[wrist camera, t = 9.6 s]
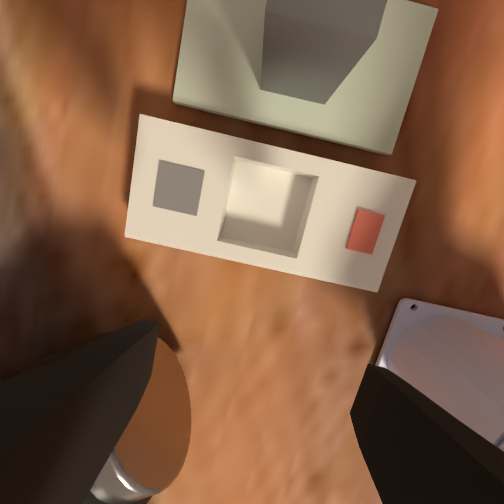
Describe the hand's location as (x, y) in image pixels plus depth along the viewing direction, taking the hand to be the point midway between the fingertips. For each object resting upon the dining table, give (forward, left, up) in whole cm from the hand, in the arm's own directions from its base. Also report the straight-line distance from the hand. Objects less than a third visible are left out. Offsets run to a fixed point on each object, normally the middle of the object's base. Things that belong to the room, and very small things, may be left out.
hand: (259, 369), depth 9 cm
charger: (0, -14, -10) cm, 17 cm away
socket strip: (+1, -5, -10) cm, 11 cm away
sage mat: (+1, -14, -10) cm, 17 cm away
